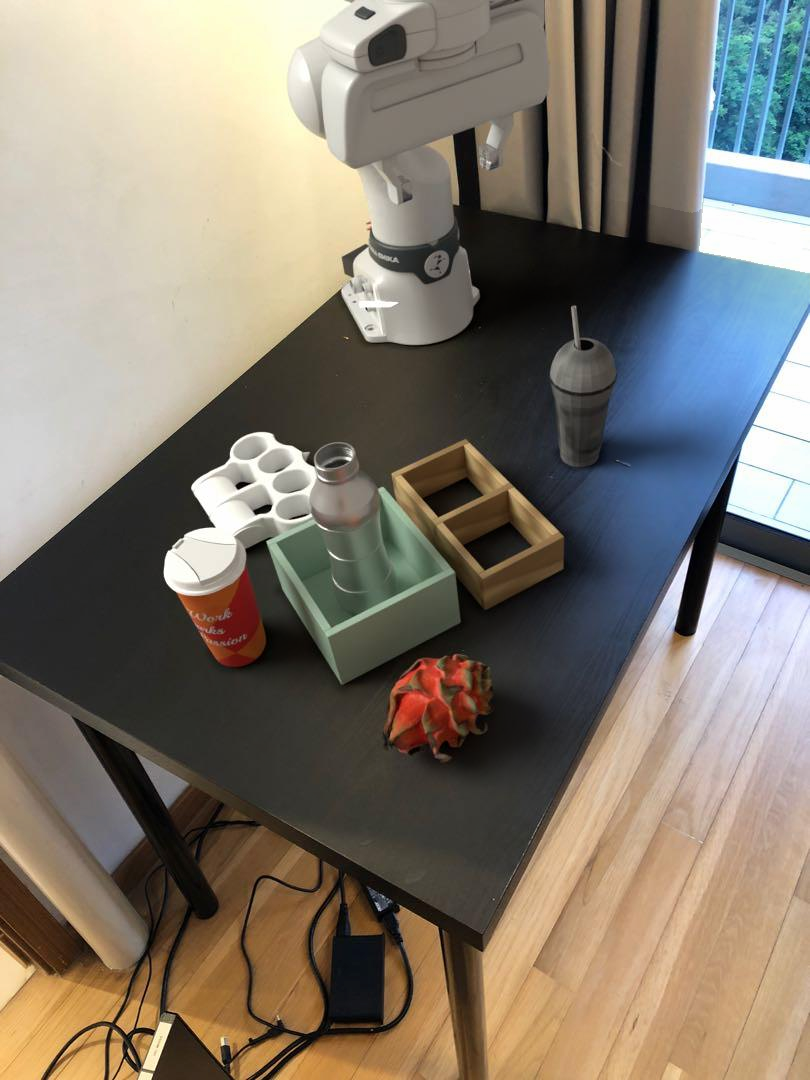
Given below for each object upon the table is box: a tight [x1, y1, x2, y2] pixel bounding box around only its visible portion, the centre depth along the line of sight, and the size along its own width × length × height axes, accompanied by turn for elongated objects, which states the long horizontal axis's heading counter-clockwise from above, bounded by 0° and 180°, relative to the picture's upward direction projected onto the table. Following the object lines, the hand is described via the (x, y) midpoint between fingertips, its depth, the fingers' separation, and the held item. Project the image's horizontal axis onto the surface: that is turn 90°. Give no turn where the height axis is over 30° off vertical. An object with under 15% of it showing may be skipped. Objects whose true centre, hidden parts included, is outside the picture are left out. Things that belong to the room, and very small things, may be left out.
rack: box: [391, 438, 565, 611], centre depth 95 cm, size 19×10×5 cm, turn 29°
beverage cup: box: [548, 305, 618, 468], centre depth 96 cm, size 7×7×20 cm
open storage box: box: [266, 486, 462, 686], centre depth 88 cm, size 15×14×8 cm
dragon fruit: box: [382, 653, 495, 764], centre depth 78 cm, size 8×8×12 cm
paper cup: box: [163, 527, 267, 668], centre depth 85 cm, size 8×8×14 cm
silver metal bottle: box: [309, 441, 397, 615], centre depth 84 cm, size 6×7×20 cm
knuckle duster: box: [191, 431, 317, 550], centre depth 103 cm, size 3×18×15 cm
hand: (447, 183), depth 78 cm, fingers open, 8 cm apart
